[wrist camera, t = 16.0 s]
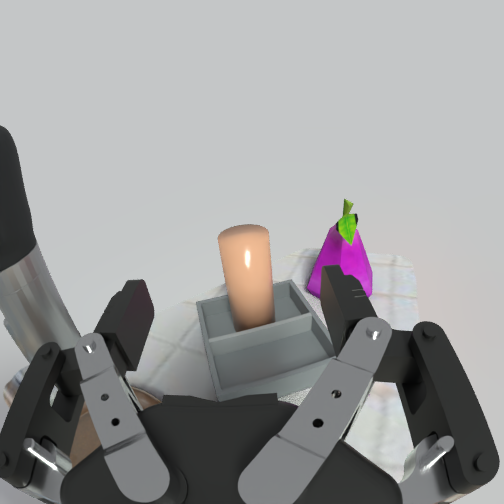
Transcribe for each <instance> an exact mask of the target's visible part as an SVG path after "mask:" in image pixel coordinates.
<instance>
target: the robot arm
mask: <svg viewBox="0 0 504 504" xmlns="http://www.w3.org/2000/svg"><path fill="white" fill-rule="evenodd" d="M320 301H321V307H322V311H323V314H324V317H325V321H326V324H327V327H328V331H329V334H330V337H331V341H332V344H333V348H334V351H335V355H336V358H332V359H331V361H330V362H329V363H328V365H327V366H326V368H325V369H324V371H323V373H322V374H321V376H320V377H319V379H318V380H317V382H316V383H315V384H314V386H313V387H312V389H311V390H310V392H309V393H308V395H307V396H306V397H305V399H304V400H303V402H302V403H301V404H300V406H297V405H294V404H292V403H288V402H284V401H278V398H277V393H268V394H253V395H245V396H241V397H238V398H234V399H229V400H225V401H221V402H215V401H210V400H206V399H201V398H197V397H193V396H179V395H164V396H163V401H162V403H159V404H155V405H152V406H150V407H148V408H146V409H144V410H143V408H142V406H141V405H140V403H139V401H138V399H137V397H136V395H135V393H134V391H133V390H132V388H131V386H130V384H129V382H128V380H127V378H126V376H125V374H126V371H136V370H137V367H138V364H139V360H140V357H141V354H142V351H143V348H144V345H145V342H146V339H147V336H148V333H149V330H150V327H151V325H152V322H153V319H154V306H153V303H152V300H151V298H150V295H149V292H148V289H147V286H146V283H145V281H144V280H142V279H141V280H128V281H127V282H126V284H125V286H124V287H123V289H122V291H119V292H117V293H116V294H115V295H114V296H113V297H112V298H111V300H110V302H109V304H108V305H107V307H106V309H105V311H104V313H103V315H102V316H101V319H100V320H99V322H98V324H97V326H96V328H95V330H94V332H93V333H90V334H87V335H85V336H83V337H81V336H80V333H79V331H78V330H77V328H76V326H75V325H74V323H73V321H72V319H71V317H70V315H69V313H68V311H67V309H66V307H65V305H64V303H63V301H62V299H61V297H60V295H59V293H58V291H57V289H56V286H55V284H54V282H53V280H52V278H51V275H50V273H49V271H48V268H47V266H46V263H45V261H44V259H43V256H42V254H41V251H40V249H39V246H38V243H37V241H36V238H35V235H34V232H33V226H32V219H31V213H30V208H29V205H28V201H27V197H26V193H25V188H24V183H23V178H22V173H21V167H20V162H19V157H18V153H17V149H16V146H15V143H14V141H13V138H12V136H11V134H10V133H9V131H8V130H7V129H6V128H4V127H2V126H0V310H1V311H2V313H3V315H4V317H5V319H4V325H5V327H6V329H7V330H8V332H9V334H10V335H11V337H12V338H13V340H14V341H15V343H16V344H17V346H18V347H19V349H20V350H21V351H22V353H23V354H24V356H25V357H26V359H27V360H28V362H29V363H30V365H29V367H28V369H27V371H26V374H25V376H24V378H23V380H22V382H21V384H20V386H19V389H18V391H17V393H16V395H15V398H14V400H13V402H12V405H11V407H10V410H9V412H8V415H7V417H6V420H5V422H4V425H3V428H2V431H1V433H0V478H2V479H3V480H5V481H7V482H8V483H10V484H11V485H12V486H13V487H15V488H17V489H18V490H20V491H22V492H24V493H25V494H27V495H29V496H31V497H33V498H36V499H38V500H40V501H42V502H44V503H46V504H55V503H57V504H450V503H452V502H454V501H456V500H458V499H460V498H462V497H464V496H466V495H467V494H469V493H471V492H473V491H475V490H476V489H478V488H480V487H481V486H483V485H485V484H487V483H488V482H489V481H491V480H492V479H493V478H494V476H495V475H496V473H497V471H498V469H499V462H500V461H499V455H498V452H497V449H496V446H495V444H494V440H493V437H492V435H491V432H490V429H489V427H488V424H487V421H486V419H485V416H484V414H483V411H482V409H481V406H480V404H479V402H478V399H477V397H476V395H475V392H474V390H473V388H472V386H471V384H470V382H469V379H468V377H467V375H466V373H465V371H464V369H463V367H462V365H461V363H460V361H459V359H458V357H457V355H456V353H455V351H454V349H453V347H452V345H451V343H450V342H449V340H448V338H447V336H446V334H445V332H444V331H443V329H442V328H441V327H440V326H439V325H437V324H435V323H433V322H427V321H424V322H420V323H418V324H416V325H415V326H414V328H413V331H401V330H394V329H392V328H391V326H390V325H389V324H388V323H387V322H386V321H385V320H383V319H381V318H378V317H377V315H376V312H375V310H374V308H373V306H372V304H371V302H370V301H369V299H368V297H367V296H366V293H365V291H364V290H363V287H362V285H361V283H360V281H359V280H358V279H357V278H355V277H354V276H353V275H351V274H349V275H344V273H343V271H342V269H341V267H340V265H339V264H336V265H326V266H322V269H321V288H320ZM375 381H378V382H391V383H396V386H397V389H398V392H399V396H400V399H401V402H402V406H403V409H404V413H405V416H406V420H407V423H408V427H409V431H410V434H411V438H412V442H413V446H414V450H413V451H412V452H411V453H410V454H409V455H408V456H407V458H406V460H405V463H404V476H403V479H402V481H401V482H400V483H399V484H397V482H396V481H395V480H394V479H393V477H391V476H390V475H389V474H388V473H386V472H385V471H383V470H382V469H381V468H379V467H378V466H377V465H375V464H374V463H372V462H371V461H370V460H368V459H367V458H366V457H364V456H363V455H362V454H360V453H359V452H358V451H357V450H355V449H354V448H353V447H351V446H350V445H349V444H347V443H346V442H345V440H346V438H347V436H348V434H349V433H350V431H351V429H352V427H353V425H354V423H355V421H356V419H357V417H358V415H359V413H360V411H361V409H362V407H363V405H364V403H365V401H366V399H367V397H368V395H369V393H370V391H371V389H372V387H373V385H374V383H375ZM54 385H55V386H56V387H57V389H58V391H57V394H56V397H55V399H54V402H53V405H52V407H51V405H50V395H51V392H52V390H53V387H54ZM84 402H86V405H87V408H88V410H89V413H90V416H91V419H92V421H93V424H94V427H95V429H96V432H97V434H98V437H99V439H100V442H101V445H100V446H99V447H98V448H96V449H95V450H94V451H93V452H92V453H90V454H89V455H88V456H87V457H85V458H84V459H83V460H82V461H80V462H79V463H78V464H77V465H76V466H74V467H73V468H72V462H71V460H70V458H69V457H70V452H71V448H72V444H73V440H74V437H75V433H76V429H77V426H78V422H79V419H80V415H81V412H82V408H83V405H84Z"/></svg>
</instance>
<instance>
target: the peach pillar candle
mask: <svg viewBox="0 0 504 504" xmlns="http://www.w3.org/2000/svg"><path fill="white" fill-rule="evenodd" d="M218 243H219V248H220V255H221V260H222V265H223V271H224V277H225V282H226V288H227V293H228V298H229V304H230V309H231V314H232V319H233V324H234V329H235V331H236V332H240V331H244V330H248V329H252V328H256V327H260V326H264V325H267V324H271V323H275V322H276V319H275V305H274V292H273V280H272V267H271V255H270V243H269V232H268V230H267V229H266V228H264V227H262V226H259V225H251V224H250V225H249V224H248V225H239V226H234V227H231V228H228V229H226V230H224V231H223V232H221V233H220V234H219V236H218Z"/></svg>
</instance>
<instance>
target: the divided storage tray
mask: <svg viewBox="0 0 504 504" xmlns="http://www.w3.org/2000/svg"><path fill="white" fill-rule="evenodd" d="M273 292H274V305H275V319H276V322H275V323H271V324H267V325H264V326H260V327H256V328H252V329H248V330H244V331H240V332H236V331H235V329H234V324H233V319H232V314H231V309H230V304H229V298H228V295H225V296H221V297H216V298H212V299H207V300H203V301H198V302H196V305H197V310H198V315H199V320H200V325H201V330H202V335H203V339H204V344H205V348H206V353H207V357H208V362H209V366H210V370H211V375H212V379H213V383H214V387H215V391H216V395H217V398H218V401H219V402H221V401H225V400H229V399H234V398H238V397H241V396H245V395H253V394H268V393H277V398H280V397H283V396H286V395H289V394H292V393H295V392H298V391H301V390H304V389H307V388H310V387H313V386H314V384H315V383H316V382H317V380H318V379H319V377H320V376H321V374H322V373H323V371H324V369H325V368H326V366H327V365H328V363H329V362H330V361H331V359H332V358H336V355H335V351H334V348H333V344H332V341H331V337H330V334H329V331H328V330H327V328H326V327H325V325H324V324H323V323H322V321H321V320H320V318H319V317H318V316H317V314H316V313H315V311H314V310H313V309H312V307H311V306H310V304H309V303H308V302H307V300H306V299H305V297H304V296H303V295H302V293H301V292H300V290H299V289H298V288H297V286H296V285H295V283H294V282H293V281H292V279H291V280H287V281H283V282H279V283H275V284H273Z"/></svg>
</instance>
